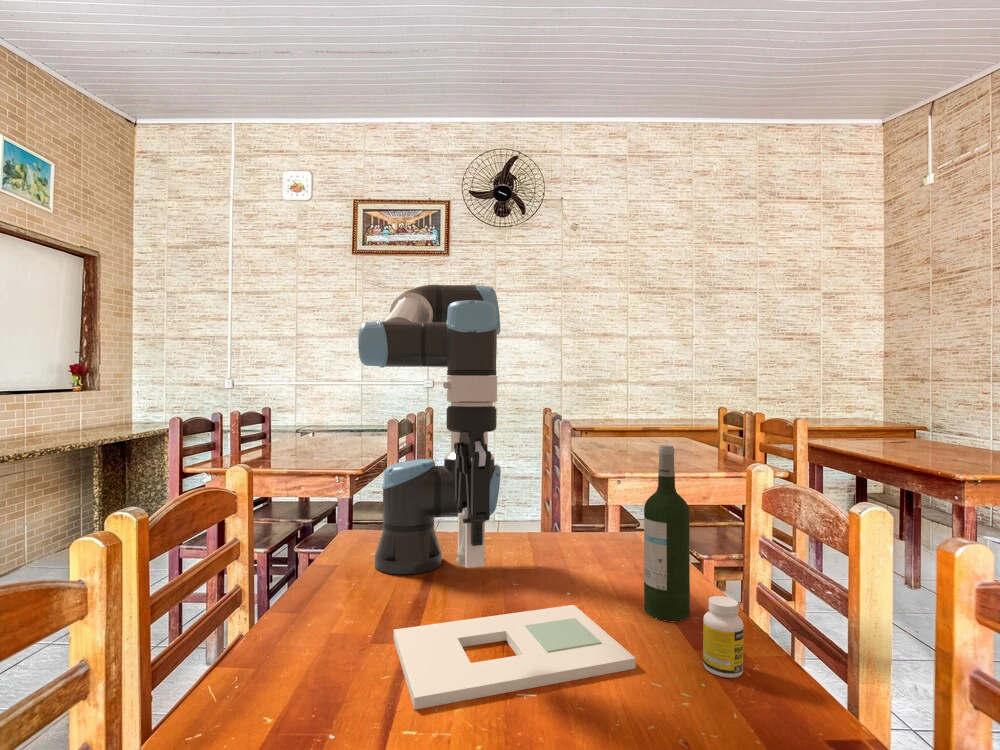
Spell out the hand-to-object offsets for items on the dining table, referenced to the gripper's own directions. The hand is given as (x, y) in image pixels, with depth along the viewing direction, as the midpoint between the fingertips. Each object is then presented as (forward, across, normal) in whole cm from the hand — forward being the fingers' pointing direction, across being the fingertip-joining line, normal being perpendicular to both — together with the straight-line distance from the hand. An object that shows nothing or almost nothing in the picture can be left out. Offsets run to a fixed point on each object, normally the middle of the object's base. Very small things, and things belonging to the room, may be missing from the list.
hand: (470, 560), depth 81 cm
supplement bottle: (+15, +13, +34) cm, 40 cm away
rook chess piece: (+1, 0, 0) cm, 1 cm away
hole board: (+15, 0, +6) cm, 16 cm away
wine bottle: (+15, -6, +38) cm, 41 cm away
